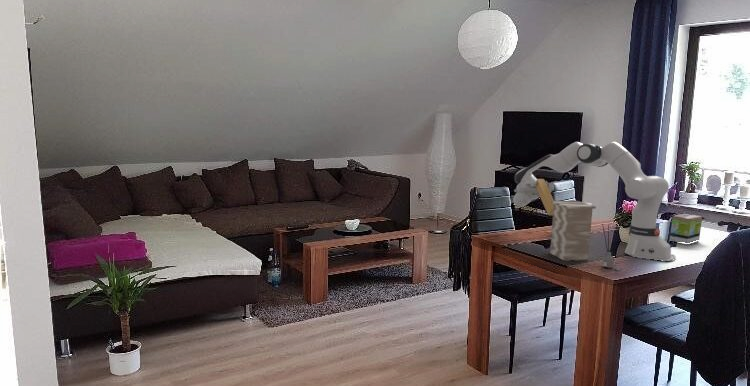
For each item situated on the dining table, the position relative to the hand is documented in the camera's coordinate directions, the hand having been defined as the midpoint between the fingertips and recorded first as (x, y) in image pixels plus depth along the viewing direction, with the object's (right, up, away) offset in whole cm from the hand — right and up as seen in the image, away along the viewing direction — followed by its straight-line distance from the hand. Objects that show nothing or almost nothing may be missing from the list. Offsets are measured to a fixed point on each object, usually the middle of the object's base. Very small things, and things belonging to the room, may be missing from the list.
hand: (541, 182), depth 296 cm
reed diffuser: (+18, -40, -44) cm, 62 cm away
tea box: (+82, -33, +11) cm, 89 cm away
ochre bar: (+1, -9, -3) cm, 10 cm away
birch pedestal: (+5, -36, -26) cm, 45 cm away
